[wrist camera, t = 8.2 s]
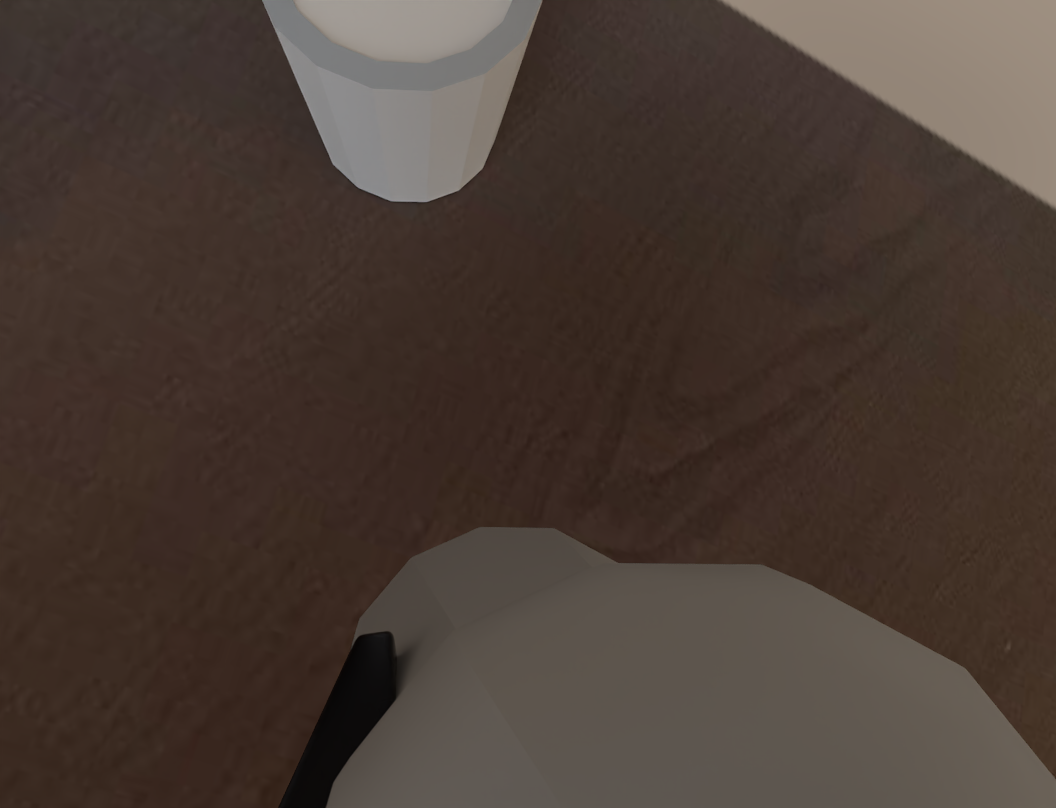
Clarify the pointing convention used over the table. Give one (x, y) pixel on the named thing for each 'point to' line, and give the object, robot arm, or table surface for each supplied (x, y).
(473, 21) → the shot glass
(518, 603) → the salt shaker
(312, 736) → the robot arm
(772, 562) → the table surface
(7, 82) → the table surface
